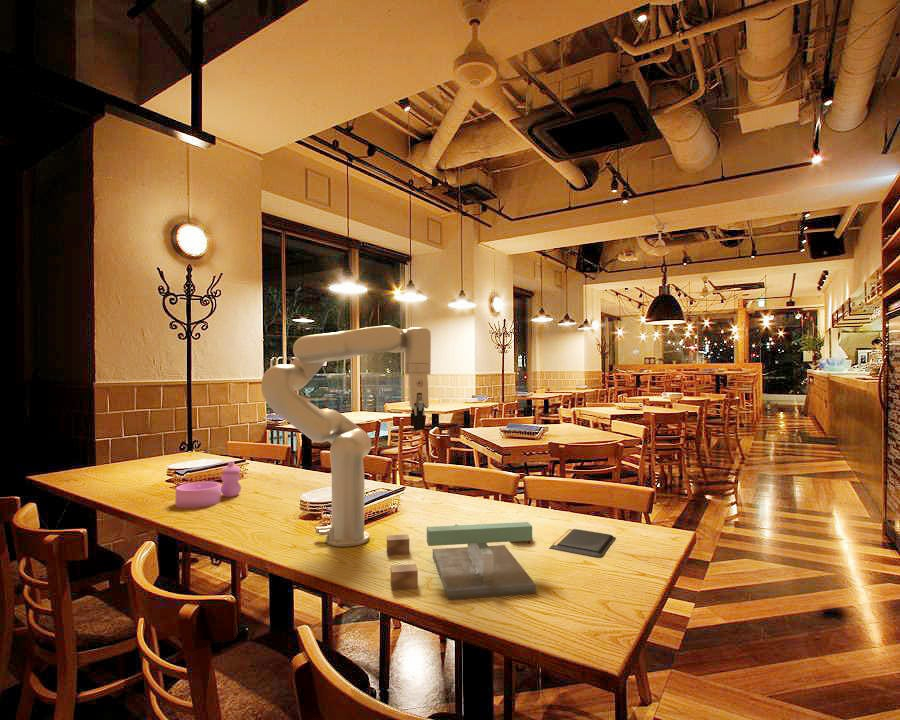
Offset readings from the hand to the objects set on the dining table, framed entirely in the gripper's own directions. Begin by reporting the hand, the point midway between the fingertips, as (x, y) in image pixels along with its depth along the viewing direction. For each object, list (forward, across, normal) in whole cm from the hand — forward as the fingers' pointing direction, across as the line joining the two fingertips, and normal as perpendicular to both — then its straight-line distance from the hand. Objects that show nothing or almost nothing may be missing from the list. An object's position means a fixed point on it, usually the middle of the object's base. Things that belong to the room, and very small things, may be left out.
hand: (417, 427), depth 147 cm
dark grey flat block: (+34, -8, -48) cm, 60 cm away
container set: (+34, +60, +74) cm, 101 cm away
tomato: (+34, -3, -30) cm, 45 cm away
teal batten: (+25, -25, -13) cm, 38 cm away
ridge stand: (+33, -25, -13) cm, 44 cm away
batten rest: (+33, -18, +6) cm, 38 cm away
